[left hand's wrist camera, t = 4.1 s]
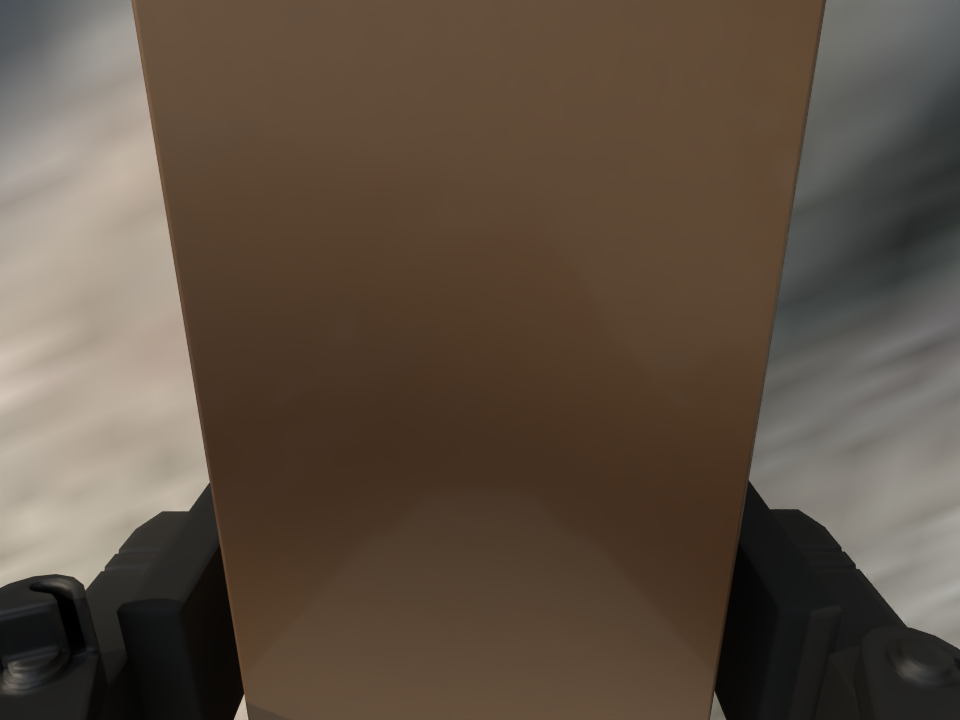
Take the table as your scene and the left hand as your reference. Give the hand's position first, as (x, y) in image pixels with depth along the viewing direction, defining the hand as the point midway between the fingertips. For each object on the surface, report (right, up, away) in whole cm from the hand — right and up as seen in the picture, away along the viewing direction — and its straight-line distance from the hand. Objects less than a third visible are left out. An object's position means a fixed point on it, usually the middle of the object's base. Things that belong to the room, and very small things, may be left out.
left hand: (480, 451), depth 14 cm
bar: (0, +26, -9) cm, 28 cm away
